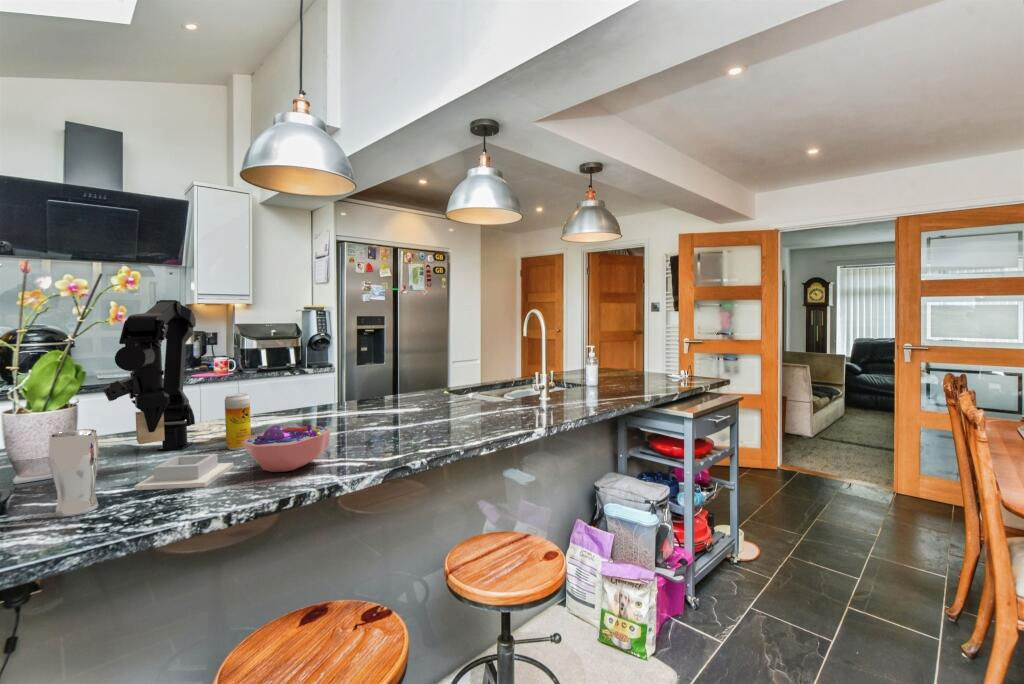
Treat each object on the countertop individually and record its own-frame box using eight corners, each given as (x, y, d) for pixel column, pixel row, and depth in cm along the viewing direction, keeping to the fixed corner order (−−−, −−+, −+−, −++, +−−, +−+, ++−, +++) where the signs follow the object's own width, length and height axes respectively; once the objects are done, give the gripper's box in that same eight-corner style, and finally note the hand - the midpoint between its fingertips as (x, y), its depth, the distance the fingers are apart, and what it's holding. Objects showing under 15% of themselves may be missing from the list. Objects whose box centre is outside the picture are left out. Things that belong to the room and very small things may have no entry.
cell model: (346, 463, 120) (345, 418, 119) (267, 487, 103) (266, 435, 102) (307, 452, 129) (306, 411, 128) (229, 473, 113) (227, 425, 112)
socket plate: (171, 469, 115) (171, 453, 115) (233, 466, 117) (233, 450, 117) (134, 490, 101) (133, 471, 101) (205, 486, 103) (204, 468, 103)
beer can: (240, 451, 131) (238, 397, 130) (221, 450, 132) (219, 396, 131) (256, 445, 136) (254, 393, 136) (237, 444, 138) (236, 392, 137)
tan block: (136, 440, 117) (135, 410, 117) (161, 436, 120) (160, 407, 120) (138, 444, 113) (137, 413, 113) (164, 440, 117) (163, 410, 116)
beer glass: (48, 521, 86) (44, 439, 85) (56, 509, 92) (51, 432, 91) (99, 512, 90) (95, 433, 89) (103, 500, 96) (99, 427, 95)
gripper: (101, 366, 117) (104, 429, 118) (106, 372, 104) (109, 443, 104) (157, 363, 125) (160, 422, 126) (168, 368, 111) (171, 434, 112)
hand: (150, 430), depth 117 cm, fingers closed on tan block, 5 cm apart
